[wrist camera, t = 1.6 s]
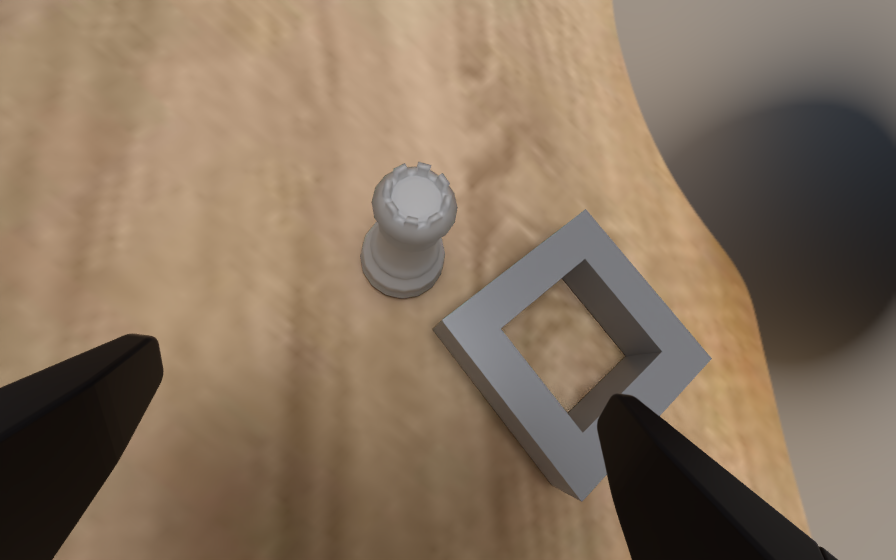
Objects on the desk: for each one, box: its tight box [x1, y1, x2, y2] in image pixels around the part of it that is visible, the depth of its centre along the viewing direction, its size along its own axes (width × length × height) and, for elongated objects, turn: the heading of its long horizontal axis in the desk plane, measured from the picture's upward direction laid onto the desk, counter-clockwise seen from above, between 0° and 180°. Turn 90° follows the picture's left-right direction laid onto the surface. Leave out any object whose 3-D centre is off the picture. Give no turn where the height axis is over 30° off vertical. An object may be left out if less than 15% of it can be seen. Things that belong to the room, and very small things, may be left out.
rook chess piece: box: [360, 162, 457, 298], centre depth 18 cm, size 4×4×8 cm
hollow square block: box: [433, 209, 712, 502], centre depth 21 cm, size 10×10×3 cm
